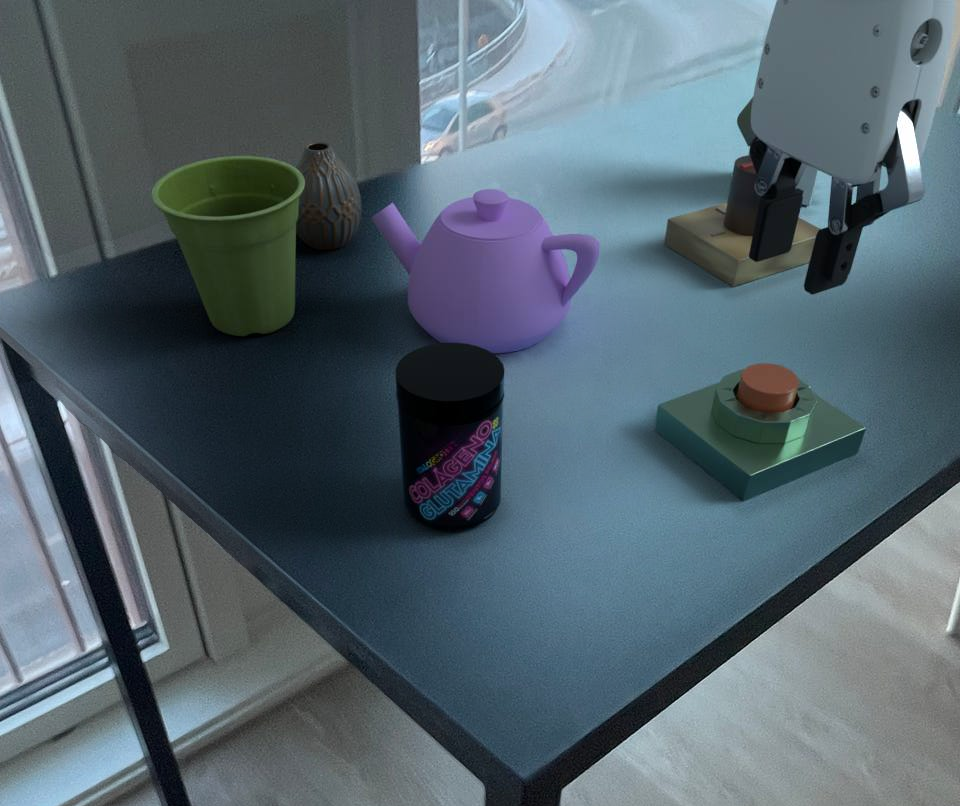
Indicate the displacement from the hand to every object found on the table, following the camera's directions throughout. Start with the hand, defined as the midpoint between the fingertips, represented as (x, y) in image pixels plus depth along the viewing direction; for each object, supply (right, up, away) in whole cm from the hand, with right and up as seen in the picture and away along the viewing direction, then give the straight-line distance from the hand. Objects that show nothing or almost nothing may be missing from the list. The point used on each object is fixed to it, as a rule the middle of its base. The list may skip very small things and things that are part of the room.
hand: (796, 268), depth 65 cm
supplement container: (-22, -15, +4) cm, 27 cm away
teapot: (-20, +4, +22) cm, 30 cm away
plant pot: (-40, +4, +22) cm, 46 cm away
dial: (+5, +15, +29) cm, 33 cm away
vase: (-35, +14, +32) cm, 50 cm away
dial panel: (+5, +13, +31) cm, 34 cm away
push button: (0, -7, +7) cm, 10 cm away
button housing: (0, -9, +10) cm, 13 cm away
